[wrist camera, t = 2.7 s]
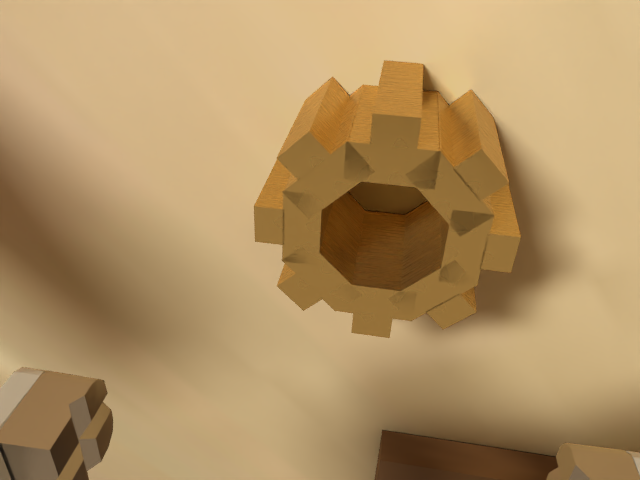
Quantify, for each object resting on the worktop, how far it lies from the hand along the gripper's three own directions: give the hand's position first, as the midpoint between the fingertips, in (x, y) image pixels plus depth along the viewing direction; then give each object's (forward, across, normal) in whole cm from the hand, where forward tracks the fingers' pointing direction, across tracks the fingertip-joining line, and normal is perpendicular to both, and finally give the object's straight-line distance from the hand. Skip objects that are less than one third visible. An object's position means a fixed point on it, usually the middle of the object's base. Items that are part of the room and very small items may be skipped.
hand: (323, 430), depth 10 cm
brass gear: (+10, -1, -1) cm, 10 cm away
